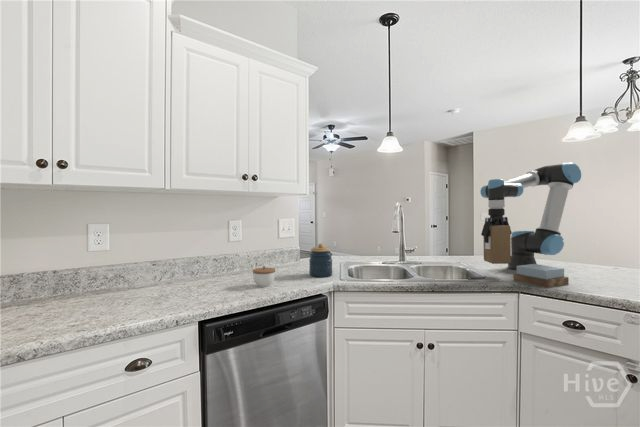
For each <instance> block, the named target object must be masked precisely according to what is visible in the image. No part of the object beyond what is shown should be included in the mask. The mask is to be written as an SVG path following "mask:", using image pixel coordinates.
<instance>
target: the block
mask: <svg viewBox="0 0 640 427" xmlns="http://www.w3.org/2000/svg"><path fill="white" fill-rule="evenodd" d="M483 227H484V225H483ZM483 227H482V228H483ZM510 229H511V226H510V225H509V226H508V225H496V226H489V230H490V236H489V237H491V249H485V237H484V236H483V261H484V262H487V263H489V264H492V265H499V264H500V265H502V264H504V265H505V264H507V265H508V264H509V263H511V235H510Z"/></svg>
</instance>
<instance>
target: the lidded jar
mask: <svg viewBox="0 0 640 427" xmlns="http://www.w3.org/2000/svg"><path fill="white" fill-rule="evenodd" d="M252 277H253V278H252V279H253V282H254V283H255V285H257V287H258V288H267V287H271V285H272V284H273V283H274V281H275V278H276V269H275V267H266V265H263V266H262V267H258V268H253V269H252Z"/></svg>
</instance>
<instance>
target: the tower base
mask: <svg viewBox="0 0 640 427" xmlns="http://www.w3.org/2000/svg"><path fill="white" fill-rule="evenodd" d="M513 281H515V282H518V283H519V282H520V283H524V282H525V283H526V284H528V283H530V284H529V285H534V286H538V287H542V288H543V287H544V288H553V287H559V286H565V285H569V281H570V280H569V276H565V275H564V277H559V278H552V279H541V278H536V277H531V276H525V275H520V274H517V272H515V273H513Z"/></svg>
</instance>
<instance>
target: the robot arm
mask: <svg viewBox="0 0 640 427" xmlns="http://www.w3.org/2000/svg"><path fill="white" fill-rule="evenodd" d="M581 180H582V170H581V169H580V167H579V165H577V164H576V163H574V162H563V163H558V164H549V165H545V166H541V167H539V168H536V169H533V170H530V171H527V172H526V173H525V174H522V175H519V176H516V177H512V178H510V179H504V178H495V179H489V180H488V182H487V183H488V184H487V185H483V186H482V187H480V191H479V192H480V196H481V197H482V198H484V199H487V200H488V201H487V202H488V203H487V204H488V210H487V211H488V212H487V213H488V214H487V215H488V216H489V217H485V219H484V224H483V226H484V227H482V231H481V234H480V235H481V236H482V237H483V238H484V237H485V249H491V237H489V236H490V230H489V226H496V225H508V226H510V224H509V219H508V217H507V216H505V212H506V211H505V207H506V206H505V198H516V197H517V198H518V197H520V196H522V195H523V193H524V189H525V188H528V187H532V188H533V187H537V186H547V187H549V191H548V194H547V197H546V198H547V199H546V202H545V204H544V205H545V206H544V210H543V214H542V216H541V221H540V224H539V226H538V227H536V228H535V231H534V230H516V231H512V229H511V228H510V236H511V263H509V264H507V268H508V269H510V270H515V271H517V266H520V265H529V264H538V263H537V260H536V258H535V254H538V255H539V254H540V255H544V256H556V255H558V254H559V253H561V251H562V250H563V249H564V246H565V241H564V238H563V236H562V233H561V232H560V230H559V229H560V226H561V222H562V217H563V213H564V210H565V206H566V202H567V198H568V194H569V191H570V190H573V188H574V184H577V183H579V182H580V181H581Z"/></svg>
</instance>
